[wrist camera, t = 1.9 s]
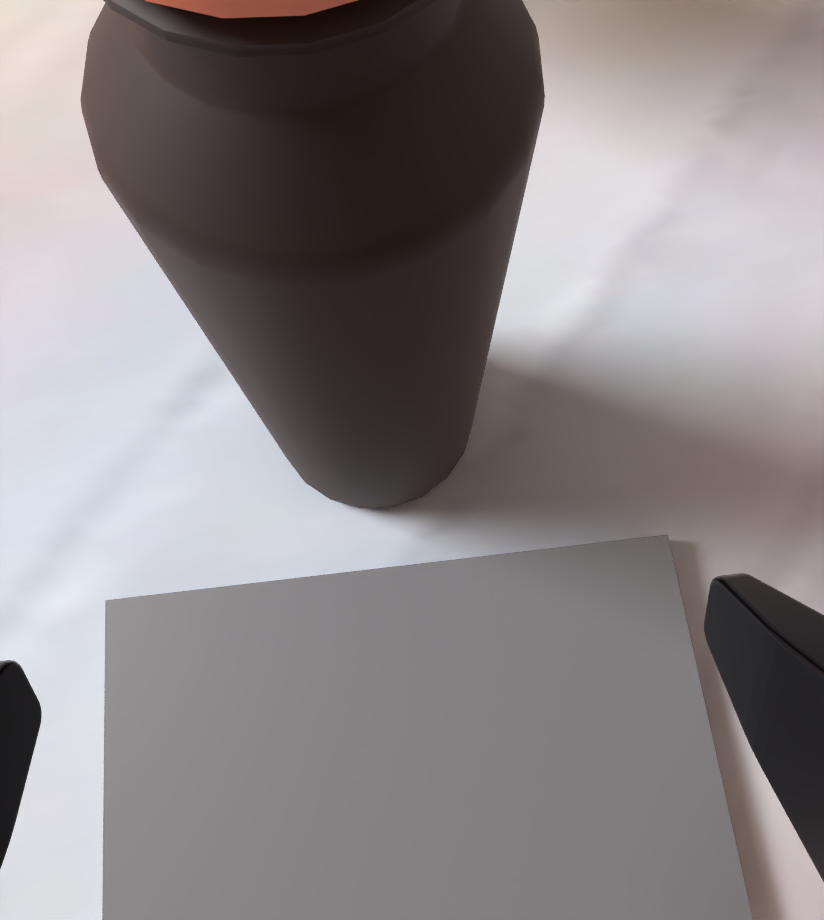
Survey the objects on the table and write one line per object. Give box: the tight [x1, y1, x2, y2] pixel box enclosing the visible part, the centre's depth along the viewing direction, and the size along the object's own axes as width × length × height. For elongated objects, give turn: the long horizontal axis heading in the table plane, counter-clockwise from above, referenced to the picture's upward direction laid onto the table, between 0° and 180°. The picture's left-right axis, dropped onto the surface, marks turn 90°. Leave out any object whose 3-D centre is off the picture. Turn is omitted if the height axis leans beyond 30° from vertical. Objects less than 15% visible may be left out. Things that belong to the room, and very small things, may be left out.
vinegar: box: [81, 0, 545, 508], centre depth 15 cm, size 7×7×20 cm
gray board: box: [103, 535, 753, 920], centre depth 21 cm, size 11×18×1 cm, turn 97°
